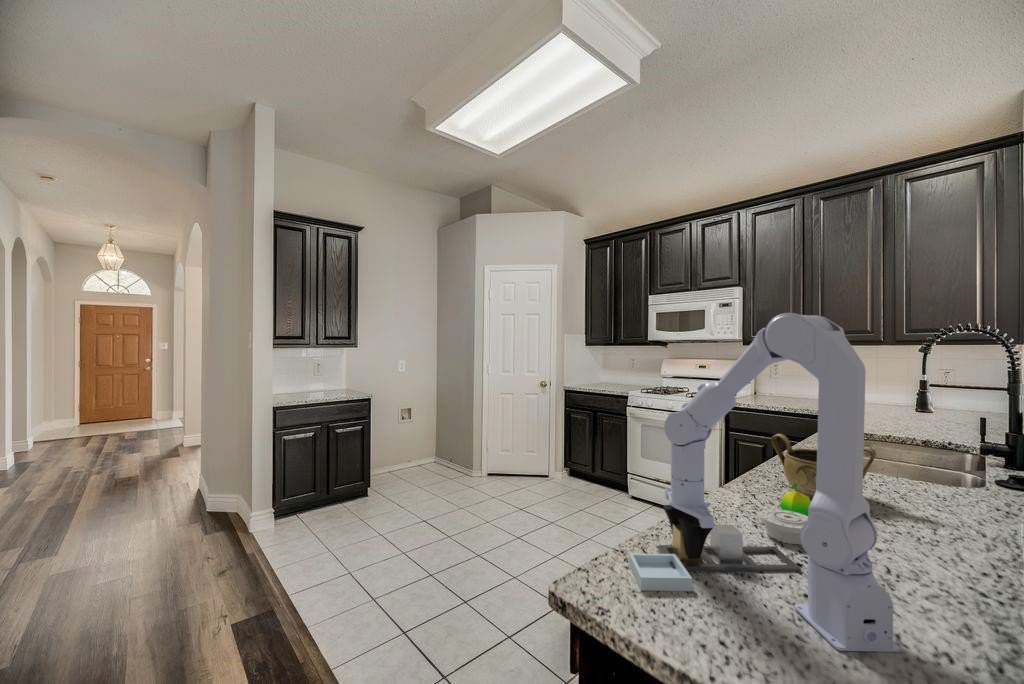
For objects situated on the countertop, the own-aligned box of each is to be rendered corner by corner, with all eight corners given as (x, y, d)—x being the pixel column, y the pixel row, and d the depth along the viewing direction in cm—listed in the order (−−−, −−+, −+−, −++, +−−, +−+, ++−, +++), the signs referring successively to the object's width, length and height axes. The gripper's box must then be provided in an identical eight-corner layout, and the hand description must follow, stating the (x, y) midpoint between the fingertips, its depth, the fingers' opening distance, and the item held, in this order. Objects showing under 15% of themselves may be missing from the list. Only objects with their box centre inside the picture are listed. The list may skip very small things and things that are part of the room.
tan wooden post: (702, 566, 79) (702, 532, 79) (680, 566, 79) (680, 532, 79) (694, 555, 83) (694, 523, 83) (672, 555, 83) (672, 523, 83)
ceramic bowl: (761, 494, 117) (761, 437, 118) (783, 480, 129) (783, 429, 129) (868, 519, 101) (868, 453, 101) (882, 501, 112) (882, 442, 112)
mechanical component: (754, 517, 90) (766, 504, 98) (754, 538, 90) (766, 524, 98) (812, 531, 84) (821, 516, 91) (812, 554, 84) (821, 537, 91)
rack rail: (800, 573, 77) (800, 568, 77) (672, 571, 77) (672, 565, 77) (774, 552, 85) (774, 546, 85) (658, 550, 85) (658, 545, 85)
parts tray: (692, 591, 71) (692, 578, 71) (640, 590, 71) (640, 577, 71) (674, 565, 79) (674, 554, 79) (628, 565, 80) (628, 553, 80)
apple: (790, 513, 104) (790, 475, 104) (819, 523, 98) (819, 482, 98) (772, 519, 100) (772, 480, 100) (802, 530, 95) (802, 487, 95)
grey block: (742, 567, 79) (742, 533, 79) (719, 567, 79) (719, 533, 79) (732, 556, 83) (732, 524, 83) (710, 556, 83) (710, 524, 83)
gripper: (731, 489, 74) (731, 570, 74) (689, 465, 89) (689, 533, 89) (690, 490, 74) (690, 572, 74) (655, 466, 88) (655, 535, 88)
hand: (687, 551), depth 81 cm, fingers closed on tan wooden post, 4 cm apart
